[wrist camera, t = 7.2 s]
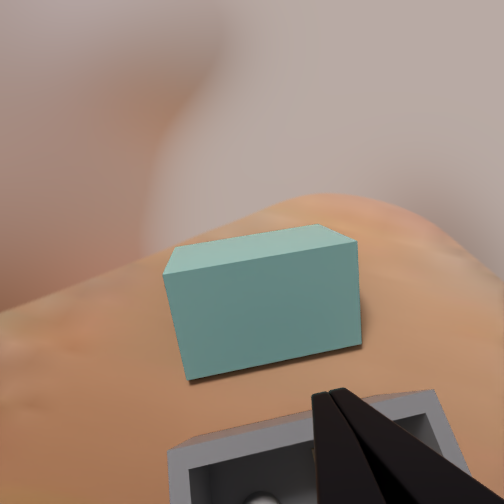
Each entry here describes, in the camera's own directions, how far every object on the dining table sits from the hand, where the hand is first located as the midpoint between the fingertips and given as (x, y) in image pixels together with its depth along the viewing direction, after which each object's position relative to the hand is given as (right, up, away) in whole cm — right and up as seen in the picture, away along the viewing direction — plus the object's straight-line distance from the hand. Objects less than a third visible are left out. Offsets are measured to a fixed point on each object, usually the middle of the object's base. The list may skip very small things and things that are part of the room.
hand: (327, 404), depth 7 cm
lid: (-1, +1, +7) cm, 7 cm away
